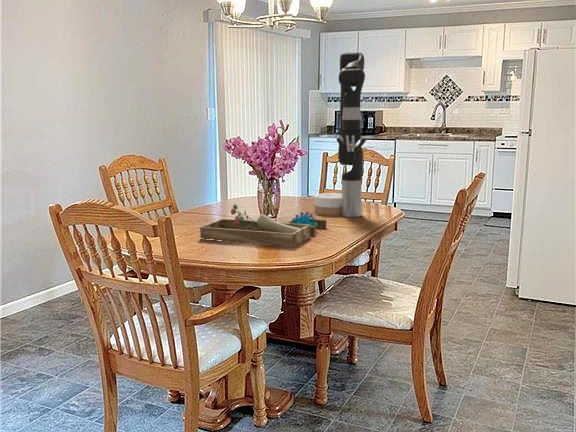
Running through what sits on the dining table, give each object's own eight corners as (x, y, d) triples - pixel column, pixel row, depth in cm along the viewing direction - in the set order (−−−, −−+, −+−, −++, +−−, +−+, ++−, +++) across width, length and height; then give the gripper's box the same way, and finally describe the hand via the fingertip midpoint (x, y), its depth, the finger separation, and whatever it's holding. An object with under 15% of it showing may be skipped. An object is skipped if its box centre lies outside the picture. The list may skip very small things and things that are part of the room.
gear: (287, 228, 241) (296, 208, 246) (290, 235, 246) (299, 216, 250) (312, 233, 237) (320, 214, 242) (314, 241, 242) (322, 221, 246)
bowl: (350, 215, 277) (351, 198, 275) (315, 215, 277) (315, 198, 276) (348, 208, 294) (348, 192, 292) (314, 209, 294) (314, 193, 292)
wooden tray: (222, 230, 247) (221, 218, 246) (310, 236, 231) (310, 224, 230) (199, 239, 230) (199, 227, 229) (293, 247, 214) (293, 234, 214)
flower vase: (292, 260, 224) (220, 233, 239) (307, 245, 233) (237, 220, 248) (293, 235, 218) (219, 209, 233) (309, 221, 227) (236, 196, 242)
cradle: (295, 225, 254) (295, 217, 253) (326, 227, 248) (326, 219, 248) (280, 233, 239) (280, 224, 238) (313, 235, 234) (313, 227, 233)
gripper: (369, 118, 238) (369, 160, 242) (339, 118, 243) (339, 159, 247) (364, 118, 231) (364, 161, 235) (333, 119, 236) (333, 161, 240)
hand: (351, 160), depth 241 cm, fingers closed
